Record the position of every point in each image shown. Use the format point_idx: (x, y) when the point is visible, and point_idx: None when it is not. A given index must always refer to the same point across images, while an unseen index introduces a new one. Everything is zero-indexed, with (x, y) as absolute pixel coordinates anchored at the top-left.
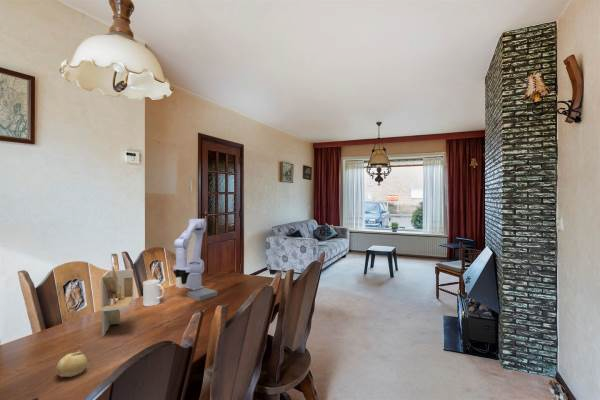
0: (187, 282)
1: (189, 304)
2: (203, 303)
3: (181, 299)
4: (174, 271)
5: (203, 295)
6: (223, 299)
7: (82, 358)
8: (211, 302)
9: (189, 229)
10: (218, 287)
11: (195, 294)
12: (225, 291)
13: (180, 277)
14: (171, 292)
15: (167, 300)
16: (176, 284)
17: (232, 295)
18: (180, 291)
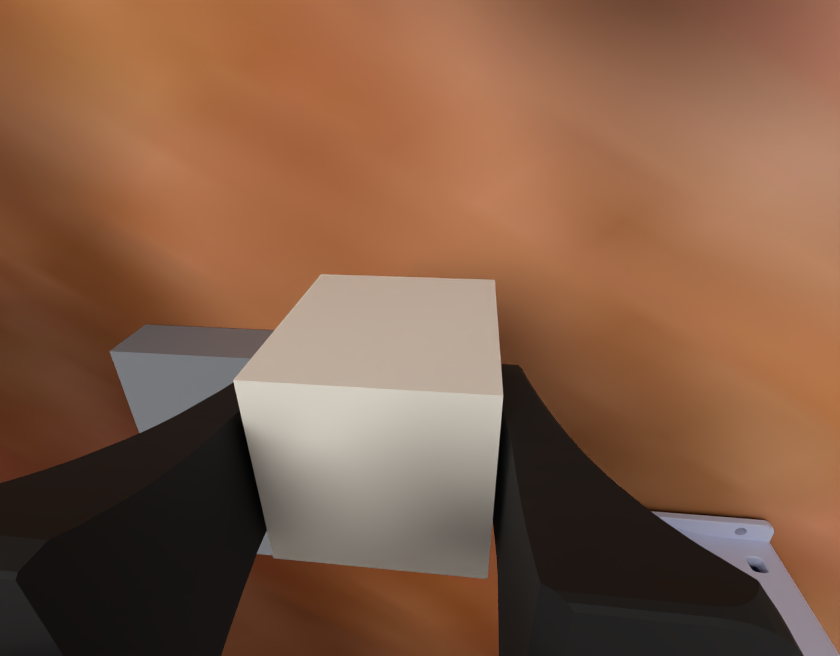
0: (774, 595)
1: (70, 168)
2: (20, 292)
3: (353, 223)
4: (575, 605)
5: (131, 400)
6: (46, 465)
7: None
8: (11, 358)
9: None
10: (434, 641)
11: (223, 369)
12: (269, 598)
13: (402, 482)
14: (797, 324)
15: (482, 51)
16: (457, 299)
17: None
18: (699, 412)
